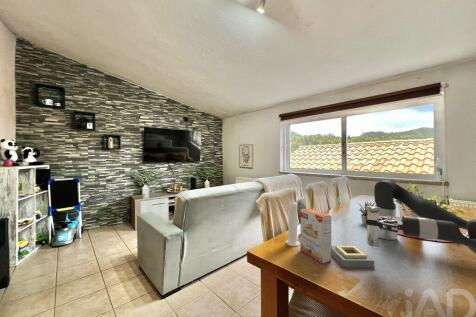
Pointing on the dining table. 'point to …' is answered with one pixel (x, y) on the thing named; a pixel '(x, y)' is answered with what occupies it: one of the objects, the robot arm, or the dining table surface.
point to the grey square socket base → (351, 257)
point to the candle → (292, 224)
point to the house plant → (364, 212)
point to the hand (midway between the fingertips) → (365, 220)
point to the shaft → (373, 230)
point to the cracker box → (316, 234)
